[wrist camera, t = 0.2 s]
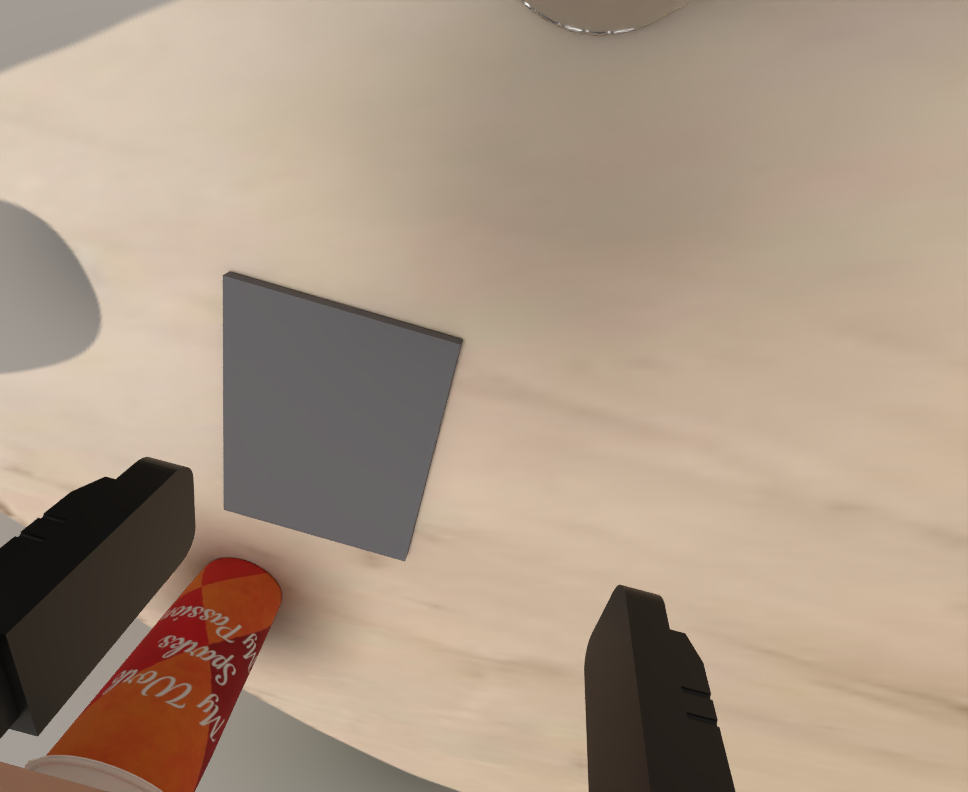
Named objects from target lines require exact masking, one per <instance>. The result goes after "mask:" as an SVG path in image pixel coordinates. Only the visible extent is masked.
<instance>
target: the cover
mask: <svg viewBox="0 0 968 792" xmlns="http://www.w3.org/2000/svg"><path fill="white" fill-rule="evenodd" d="M0 792H108V791H104V790H100V789H97V788H93V787H90V786H86V785H82V784H79V783H75V782H72V781H68V780H64V779H61V778H57V777H54V776H50V775H46V774H43V773H39V772H35V771H32V770H28V769H25V768H21V767H17V766H14V765H10V764H7V763H3V762H0Z"/></svg>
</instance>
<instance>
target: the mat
mask: <svg viewBox="0 0 968 792" xmlns="http://www.w3.org/2000/svg"><path fill="white" fill-rule="evenodd" d="M461 344H462V339H459V338H456V337H452V336H449V335H445V334H442V333H438V332H435V331H432V330H428V329H425V328H421V327H418V326H414V325H411V324H408V323H404V322H401V321H397V320H394V319H390V318H387V317H384V316H380V315H377V314H373V313H370V312H366V311H363V310H360V309H356V308H353V307H349V306H346V305H342V304H339V303H335V302H332V301H329V300H325V299H322V298H318V297H315V296H311V295H308V294H305V293H301V292H298V291H294V290H291V289H287V288H284V287H281V286H277V285H274V284H270V283H267V282H263V281H260V280H257V279H253V278H250V277H246V276H243V275H239V274H236V273H233V272H228V273H226V274H224V275H223V442H224V510H227V511H230V512H234V513H237V514H241V515H244V516H248V517H251V518H255V519H258V520H262V521H265V522H269V523H272V524H276V525H279V526H283V527H286V528H290V529H293V530H297V531H300V532H304V533H307V534H311V535H314V536H318V537H321V538H325V539H328V540H332V541H335V542H339V543H342V544H346V545H349V546H353V547H356V548H360V549H363V550H367V551H370V552H374V553H377V554H381V555H384V556H388V557H391V558H395V559H398V560H402V561H405V560H406V557H407V554H408V550H409V546H410V542H411V538H412V535H413V531H414V527H415V523H416V519H417V515H418V511H419V507H420V503H421V500H422V496H423V492H424V488H425V484H426V480H427V476H428V472H429V469H430V465H431V461H432V457H433V453H434V449H435V445H436V441H437V437H438V434H439V430H440V426H441V422H442V418H443V414H444V410H445V406H446V403H447V399H448V395H449V391H450V387H451V383H452V379H453V375H454V371H455V368H456V364H457V360H458V356H459V352H460V348H461Z"/></svg>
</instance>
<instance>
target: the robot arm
mask: <svg viewBox="0 0 968 792" xmlns="http://www.w3.org/2000/svg"><path fill="white" fill-rule="evenodd" d="M521 1H522V2H523V3H524V4H525V5H526V6H527V7H528V8H530V9H532V11H533V12H535V13H537V14H538V15H539V16H541V17H542V18H543V19H544V20H546V21H548V22H550V23H553V24H555V25H557V26H559V27H562V28H564V29H566V30H568V31H572V32H578V33H584V34H590V35H608V34H620V33H625V32H628V31H632V30H636V29H637V28H640V27H643V26H646V25H649V24H652V23H653V22H655V21H657V20H659V19H661V18H662V17H664V16H666V15H668V14H669V13H671V12H673V11H675V10H677V9H679V8H681V7H683V6H685V5H686V4H688V3H690V2H691V1H693V0H521ZM194 535H195V507H194V483H193V473H192V471H191V469H190V468H188V467H184V466H180V465H177V464H173V463H169V462H165V461H162V460H158V459H154V458H150V457H145V458H142V459H140V460H138V461H137V462H136V463H134V464H133V465H132V466H131V467H130V468H129V469H127V470H126V471H125V472H124V473H123V474H121V475H120V476H119V477H118V478H117V479H112V478H108V477H103V478H101V479H99V480H97V481H94V482H92V483H90V484H88V485H85V486H83V487H81V488H79V489H76V490H74V491H72V492H70V493H69V494H68V495H66V496H65V497H64V498H63V499H61V500H60V501H59V502H58V503H56V504H55V505H54V506H53V507H51V508H50V509H49V510H48V511H46V512H45V513H44V515H43V517H42V518H37V519H36V520H35V521H34V522H32V523H31V524H30V525H29V526H27V527H26V528H25V529H24V530H22V531H21V534H20V536H19V537H14V538H12V539H11V540H10V541H9V542H7V543H6V544H5V545H3V546H2V547H1V548H0V738H1V737H2V736H3V735H4V734H5V733H6V731H7V730H8V729H12V730H16V731H20V732H23V733H27V734H31V735H34V736H39V734H40V733H41V732H42V731H43V729H44V728H45V727H46V726H47V725H48V723H49V722H50V721H51V720H52V719H53V717H54V716H55V715H56V714H57V713H58V711H59V710H60V709H61V708H62V706H63V705H64V704H65V703H66V702H67V700H68V699H69V698H70V697H71V696H72V694H73V693H74V692H75V691H76V690H77V688H78V687H79V686H80V685H81V684H82V682H83V681H84V680H85V679H86V677H87V676H88V675H89V674H90V673H91V671H92V670H93V669H94V668H95V667H96V665H97V664H98V663H99V662H100V661H101V659H102V658H103V657H104V656H105V654H106V653H107V652H108V651H109V650H110V648H111V647H112V646H113V645H114V643H115V642H116V641H117V640H118V639H119V638H120V636H121V635H122V634H123V633H124V631H125V630H126V629H127V628H128V627H129V625H130V624H131V623H132V622H133V621H134V619H135V618H136V617H137V616H138V615H139V613H140V612H141V611H142V610H143V609H144V607H145V606H146V605H147V604H148V602H149V601H150V600H151V599H152V598H153V596H154V595H155V594H156V593H157V592H158V590H159V589H160V588H161V587H162V586H163V584H164V583H165V582H166V581H167V580H168V578H169V577H170V576H171V575H172V573H173V572H174V571H175V570H176V569H177V567H178V566H179V565H180V564H181V562H182V561H183V560H184V558H185V557H186V555H187V553H188V551H189V549H190V547H191V545H192V542H193V539H194ZM584 676H585V703H586V730H587V756H588V783H589V792H735V788H734V784H733V780H732V776H731V772H730V768H729V764H728V760H727V756H726V752H725V748H724V744H723V740H722V736H721V732H720V728H719V727H717V716H716V712H715V708H714V704H713V700H711V699H710V695H711V692H710V688H709V684H708V680H707V676H706V672H705V668H704V664H703V662H702V660H701V659H700V657H699V655H698V654H697V652H696V650H695V649H694V647H693V645H692V644H691V642H690V640H689V639H688V637H687V636H686V634H685V633H681V632H678V631H674V630H670V628H669V623H668V618H667V613H666V609H665V604H664V601H663V599H662V597H661V596H660V595H657V594H653V593H649V592H645V591H642V590H638V589H634V588H631V587H627V586H623V585H618V586H617V587H616V588H615V590H614V591H613V593H612V595H611V597H610V599H609V601H608V603H607V605H606V607H605V609H604V611H603V613H602V615H601V617H600V619H599V621H598V623H597V625H596V627H595V629H594V631H593V632H592V635H591V637H590V639H589V642H588V646H587V651H586V656H585V666H584Z"/></svg>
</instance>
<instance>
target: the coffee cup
mask: <svg viewBox="0 0 968 792" xmlns="http://www.w3.org/2000/svg"><path fill="white" fill-rule="evenodd" d="M281 601H282V592H281V589H280V587H279V585H278V583H277V582H276V580H275V579H274V578H273V577H272V576H271V575H270V574H269V573H268V572H267V571H265V570H264V569H262V568H261V567H259V566H257V565H255V564H253V563H251V562H248V561H245V560H242V559H237V558H220V559H216V560H214V561H212V562H210V563H209V564H208V565H207V566H206V567H205V568H204V569H203V570H202V571H201V572H200V573H199V574H198V576H197V577H196V578H195V579H194V580H193V581H192V582H191V584H190V585H189V586H188V587H187V588H186V589H185V591H184V592H183V593H182V594H181V595H180V596H179V598H178V599H177V600H176V601H175V602H174V603H173V605H172V606H171V607H170V608H169V609H168V611H167V612H166V613H165V614H164V615H163V616H162V618H161V619H160V620H159V621H158V622H157V624H156V625H155V626H154V627H153V628H152V630H151V631H150V632H149V633H148V634H147V636H146V637H145V638H144V639H143V640H142V641H141V643H140V644H139V645H138V646H137V647H136V649H135V650H134V651H133V652H132V653H131V655H130V656H129V657H128V659H126V661H125V662H124V663H123V664H122V665H121V667H120V668H119V669H118V670H117V671H116V673H115V674H114V675H113V676H112V677H111V679H110V680H109V681H108V682H107V683H106V685H105V686H104V687H103V688H102V689H101V691H100V692H99V693H98V694H97V695H96V697H95V698H94V699H93V700H92V701H91V703H90V704H89V705H88V706H87V707H86V708H85V710H84V711H83V712H82V713H81V715H80V716H79V717H78V718H77V719H76V720H75V722H74V723H73V724H72V725H71V726H70V728H69V729H68V730H67V731H66V732H65V734H64V735H63V736H62V737H61V738H60V740H59V741H58V742H57V743H56V744H55V746H54V747H53V748H52V749H51V750H50V752H49V753H48V754H47V755H46V756H44V757H40V758H37V759H33V760H29V762H28V763H27V764H26V766H25V769H28V770H32V771H35V772H39V773H43V774H46V775H50V776H54V777H57V778H61V779H64V780H68V781H72V782H75V783H79V784H82V785H86V786H90V787H93V788H97V789H100V790H104V791H108V792H195V790H196V788H197V786H198V784H199V782H200V780H201V778H202V776H203V774H204V771H205V769H206V767H207V765H208V763H209V761H210V759H211V757H212V755H213V753H214V750H215V748H216V746H217V744H218V741H219V739H220V737H221V735H222V732H223V730H224V728H225V726H226V723H227V721H228V719H229V717H230V714H231V712H232V710H233V708H234V706H235V703H236V701H237V699H238V697H239V695H240V692H241V690H242V688H243V686H244V684H245V682H246V680H247V677H248V675H249V673H250V671H251V669H252V667H253V665H254V662H255V660H256V658H257V656H258V654H259V652H260V649H261V647H262V645H263V643H264V641H265V639H266V636H267V634H268V632H269V630H270V628H271V625H272V623H273V621H274V619H275V616H276V614H277V612H278V609H279V607H280V604H281Z"/></svg>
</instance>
